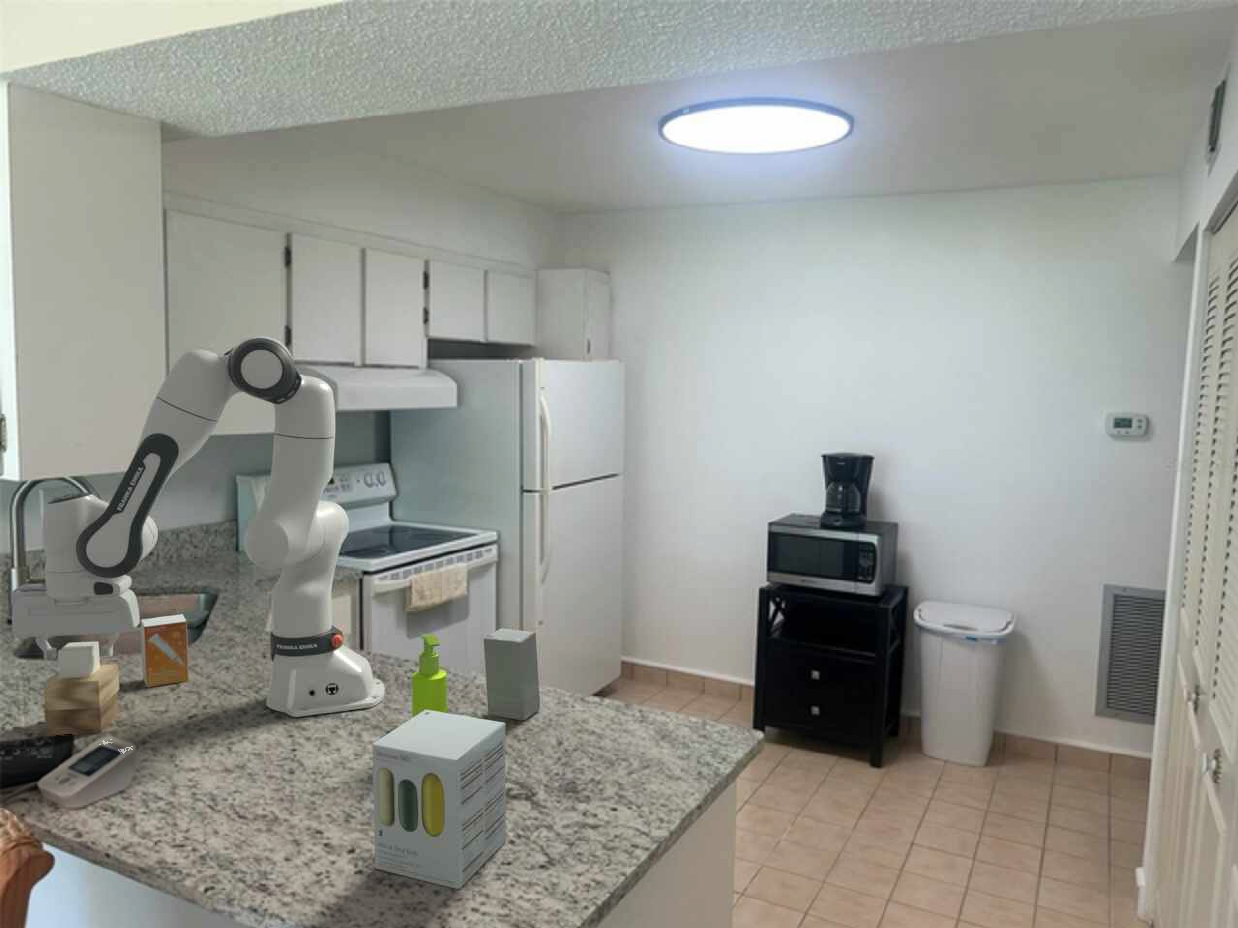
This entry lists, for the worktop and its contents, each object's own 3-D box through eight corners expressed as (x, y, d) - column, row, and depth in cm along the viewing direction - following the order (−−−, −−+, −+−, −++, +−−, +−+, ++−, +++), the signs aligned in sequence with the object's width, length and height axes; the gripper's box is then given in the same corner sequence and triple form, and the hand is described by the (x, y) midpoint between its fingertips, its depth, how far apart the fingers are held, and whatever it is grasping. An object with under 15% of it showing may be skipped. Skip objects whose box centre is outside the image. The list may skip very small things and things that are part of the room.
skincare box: (540, 710, 173) (540, 630, 171) (521, 723, 167) (521, 641, 165) (503, 703, 177) (502, 625, 175) (483, 716, 170) (482, 635, 168)
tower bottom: (118, 714, 170) (117, 688, 169) (101, 733, 161) (99, 706, 161) (66, 717, 168) (65, 691, 168) (46, 737, 159) (44, 710, 159)
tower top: (119, 689, 169) (117, 663, 169) (99, 707, 160) (98, 680, 160) (67, 692, 168) (65, 666, 167) (45, 710, 159) (43, 683, 158)
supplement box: (371, 869, 119) (368, 743, 117) (427, 822, 131) (425, 707, 129) (459, 891, 114) (457, 760, 112) (508, 840, 126) (507, 721, 124)
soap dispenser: (419, 758, 152) (417, 644, 149) (409, 743, 158) (407, 632, 156) (453, 751, 154) (452, 639, 152) (441, 736, 161) (440, 628, 158)
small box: (146, 688, 183) (143, 626, 181) (142, 679, 188) (139, 618, 187) (189, 681, 187) (187, 620, 186) (185, 672, 193) (182, 613, 191)
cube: (100, 667, 167) (98, 641, 166) (89, 676, 162) (88, 649, 161) (70, 668, 166) (68, 642, 165) (59, 678, 161) (57, 651, 160)
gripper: (2, 589, 157) (7, 666, 158) (128, 585, 161) (133, 659, 162) (18, 581, 163) (23, 654, 164) (140, 576, 167) (144, 649, 168)
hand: (79, 657), depth 163 cm, fingers open, 8 cm apart
